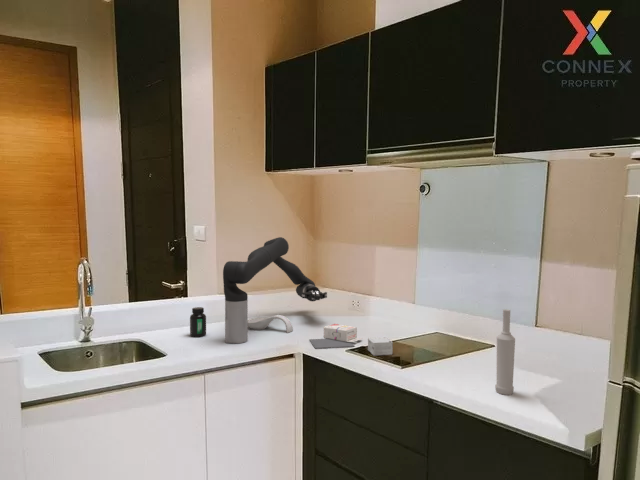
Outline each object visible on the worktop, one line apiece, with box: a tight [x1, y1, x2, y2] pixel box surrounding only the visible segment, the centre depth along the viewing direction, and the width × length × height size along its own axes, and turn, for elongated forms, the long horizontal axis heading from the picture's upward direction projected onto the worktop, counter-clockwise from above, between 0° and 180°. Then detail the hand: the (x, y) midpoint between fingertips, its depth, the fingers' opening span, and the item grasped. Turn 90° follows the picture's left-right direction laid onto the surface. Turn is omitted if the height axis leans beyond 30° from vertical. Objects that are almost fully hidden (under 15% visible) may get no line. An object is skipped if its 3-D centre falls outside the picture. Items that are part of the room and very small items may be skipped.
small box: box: [367, 336, 394, 356], centre depth 188 cm, size 8×8×5 cm
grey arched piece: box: [248, 314, 294, 334], centre depth 224 cm, size 24×12×7 cm, turn 64°
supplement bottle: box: [189, 306, 207, 338], centre depth 212 cm, size 7×7×12 cm
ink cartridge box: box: [323, 323, 363, 343], centre depth 206 cm, size 9×5×15 cm
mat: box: [308, 338, 356, 350], centre depth 200 cm, size 16×13×1 cm
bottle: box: [495, 308, 516, 396], centre depth 146 cm, size 5×5×25 cm
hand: (318, 297), depth 226 cm, fingers closed
